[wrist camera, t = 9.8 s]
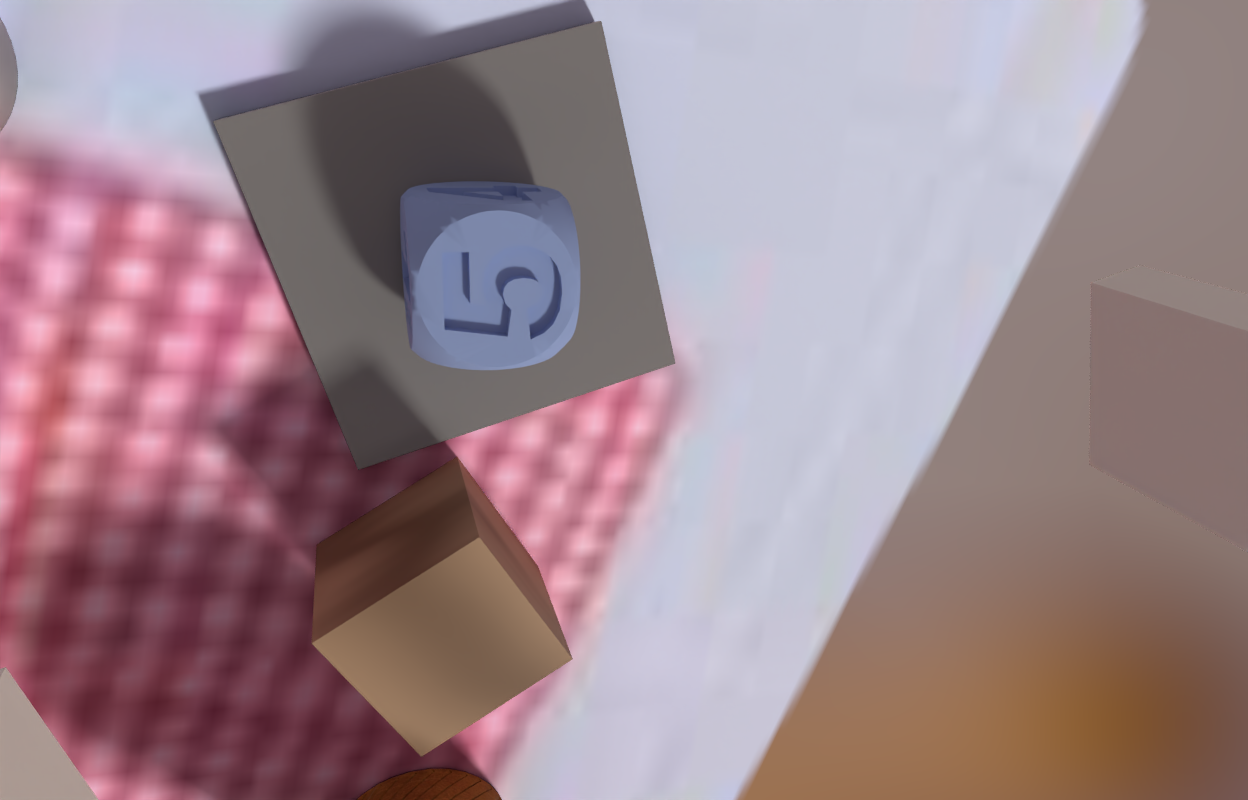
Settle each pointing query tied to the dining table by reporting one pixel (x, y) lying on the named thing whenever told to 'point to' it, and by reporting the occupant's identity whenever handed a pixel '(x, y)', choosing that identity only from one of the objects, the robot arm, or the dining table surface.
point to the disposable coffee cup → (432, 787)
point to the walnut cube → (434, 609)
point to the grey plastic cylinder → (7, 76)
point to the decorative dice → (488, 273)
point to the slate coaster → (432, 153)
